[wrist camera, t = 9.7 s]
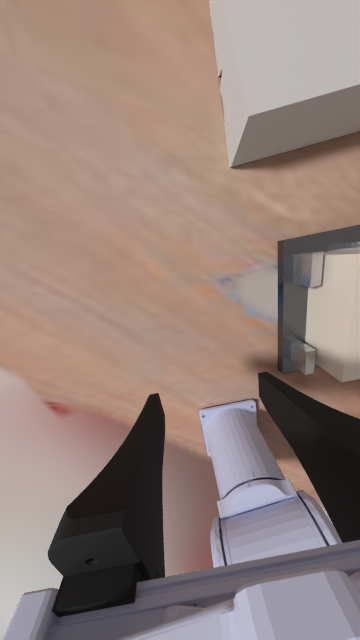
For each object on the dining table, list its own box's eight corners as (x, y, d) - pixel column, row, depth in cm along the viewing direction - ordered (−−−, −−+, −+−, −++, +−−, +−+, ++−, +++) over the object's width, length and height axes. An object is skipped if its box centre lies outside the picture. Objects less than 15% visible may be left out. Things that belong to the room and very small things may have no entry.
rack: (344, 356, 24) (372, 372, 20) (278, 369, 24) (295, 387, 20) (363, 224, 18) (406, 216, 15) (277, 241, 18) (302, 237, 15)
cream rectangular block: (332, 350, 22) (376, 375, 17) (304, 355, 22) (341, 382, 17) (343, 248, 18) (406, 244, 13) (309, 255, 18) (360, 253, 13)
